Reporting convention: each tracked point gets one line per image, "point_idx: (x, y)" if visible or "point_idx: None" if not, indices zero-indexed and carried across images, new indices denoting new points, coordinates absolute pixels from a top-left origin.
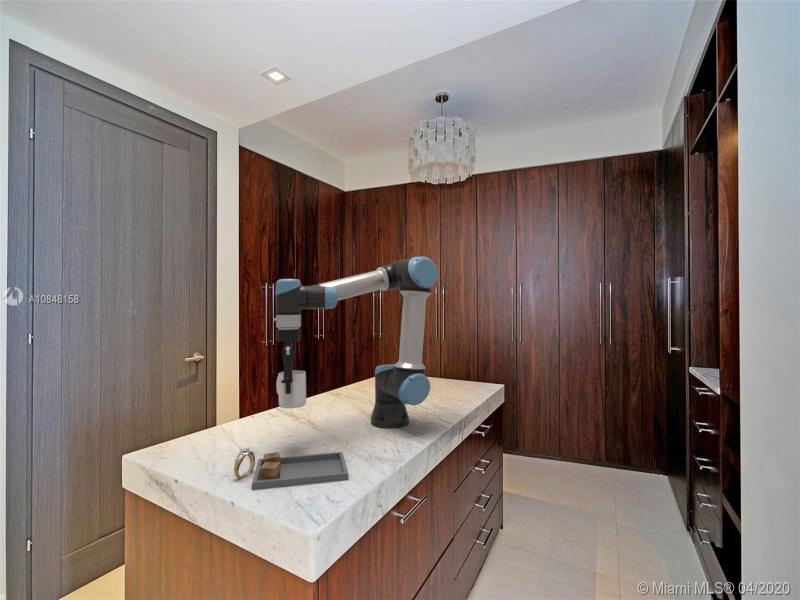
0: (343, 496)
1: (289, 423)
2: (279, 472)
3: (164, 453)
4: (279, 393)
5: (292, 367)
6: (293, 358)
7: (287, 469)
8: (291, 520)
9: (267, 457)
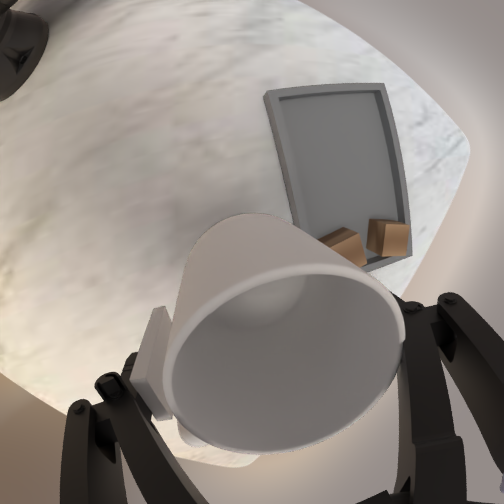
0: (413, 100)
1: (21, 308)
2: (378, 220)
3: None
4: (305, 353)
5: (153, 438)
6: (461, 447)
7: (335, 213)
8: (458, 172)
9: (359, 261)
